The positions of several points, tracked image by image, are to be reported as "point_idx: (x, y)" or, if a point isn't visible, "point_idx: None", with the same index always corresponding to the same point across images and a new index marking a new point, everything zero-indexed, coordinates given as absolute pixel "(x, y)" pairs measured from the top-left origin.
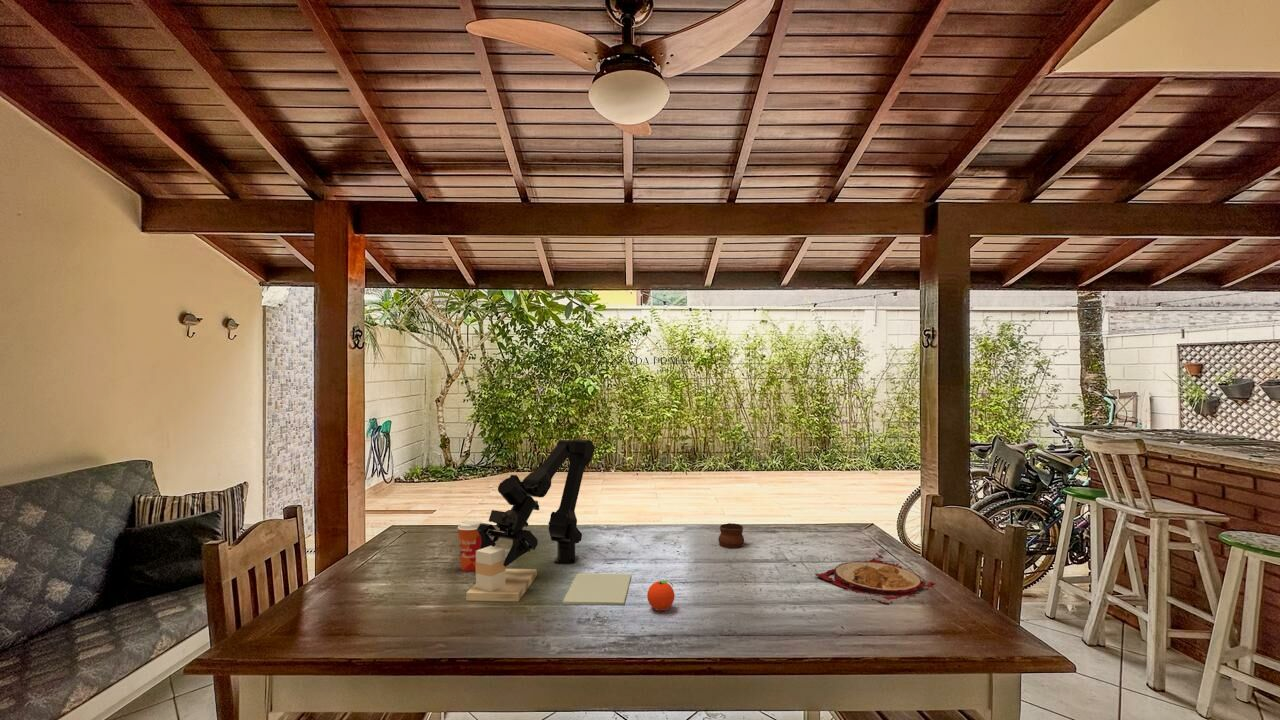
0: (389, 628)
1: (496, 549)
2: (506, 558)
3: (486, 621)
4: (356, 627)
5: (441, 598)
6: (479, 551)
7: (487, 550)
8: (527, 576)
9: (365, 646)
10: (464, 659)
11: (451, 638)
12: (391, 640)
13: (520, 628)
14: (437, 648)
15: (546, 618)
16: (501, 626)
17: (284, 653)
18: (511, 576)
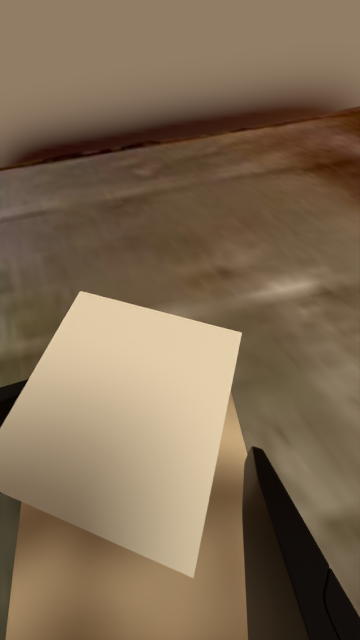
0: (273, 192)
1: (62, 415)
2: (5, 393)
3: (100, 249)
4: (336, 184)
5: (297, 341)
6: (198, 322)
7: (141, 365)
8: (28, 623)
9: (255, 150)
10: (88, 153)
11: (137, 188)
12: (232, 167)
13: (20, 238)
14: (142, 164)
15: None
16: (61, 238)
17: (346, 121)
18: (118, 596)
